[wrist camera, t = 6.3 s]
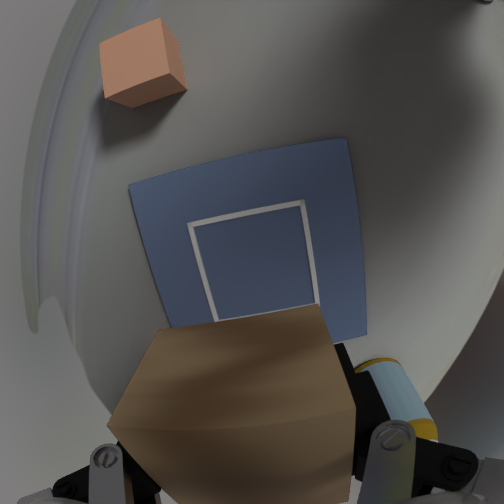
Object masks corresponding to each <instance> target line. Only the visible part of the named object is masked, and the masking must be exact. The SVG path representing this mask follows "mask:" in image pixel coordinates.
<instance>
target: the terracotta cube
mask: <svg viewBox="0 0 504 504" xmlns="http://www.w3.org/2000/svg"><path fill="white" fill-rule="evenodd" d="M99 47H100V60H101V70H102V79H103V88H104V95H105V99H108V100H111V101H114V102H116V103H119V104H122V105H125V106H127V107H130V108H132V109H133V108H135V107H138V106H141V105H143V104H146V103H149V102H152V101H155V100H158V99H161V98H163V97H167V96H170V95H173V94H176V93H179V92H182V91H186V90H187V85H186V80H185V75H184V70H183V65H182V60H181V54H180V49H179V44H178V41H177V39H176V38H175V37H174V35H173V34H172V33H171V31H170V30H169V29H168V27H167V26H166V25H165V23H164V22H163V21H162V19H161V18H158V19H155V20H153V21H150V22H147V23H145V24H142V25H140V26H137V27H135V28H132V29H130V30H128V31H125V32H123V33H121V34H118V35H116V36H114V37H112V38H110V39H108V40H106V41H104V42H102V43H100V44H99Z"/></svg>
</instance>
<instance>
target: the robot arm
mask: <svg viewBox="0 0 504 504" xmlns="http://www.w3.org/2000/svg"><path fill="white" fill-rule="evenodd" d="M483 1H492V0H483ZM334 347H335V350H336V353H337V355H338V358H339V361H340V364H341V366H342V369H343V372H344V375H345V378H346V380H347V383H348V386H349V389H350V392H351V395H352V397H353V400H354V403H355V406H356V419H355V439H354V453H353V465H352V475H351V476H353V475H355V479H357V480H359V481H361V482H362V485H361V489H360V493H359V497H358V501H357V504H504V460H502V459H495V458H489V457H485V459H478V458H477V457H476V455H475V454H474V453H472V452H471V451H470V450H467V449H463V448H459V447H454V446H450V445H446V444H442V443H438V442H434V441H431V440H427V439H423V438H420V437H416V433H415V430H414V428H413V426H412V425H410V424H409V423H408V422H405V421H403V420H391V418H390V416H389V414H388V411H387V409H386V407H385V405H384V402H383V400H382V398H381V396H380V393H379V391H378V389H377V387H376V385H375V382H374V380H373V378H372V376H371V374H370V372H369V371H368V370H367V371H363V372H359V373H355V370H354V368H353V365H352V363H351V361H350V358H349V356H348V353H347V351H346V349H345V346H344V344H343V343H339V344H335V345H334ZM160 491H161V487H160V486H159V485H158V484H157V483H156V482H155V481H154V480H153V479H152V478H151V477H150V476H149V475H148V474H147V473H146V472H145V471H144V470H143V469H142V467H141V466H140V465H139V464H138V463H137V462H136V461H135V460H134V459H133V457H132V456H131V455H130V454H129V453H128V452H127V450H126V449H125V448H124V447H123V446H122V444H121V443H120V442H119V441H118V442H117V444H116V445H115V444H104V445H101V446H99V447H97V448H96V449H95V450H94V451H93V452H92V454H91V457H90V465H88V466H86V467H84V468H82V469H80V470H78V471H76V472H74V473H71V474H69V475H67V476H65V477H63V478H61V479H59V480H58V481H57V482H56V483H55V484H54V486H53V489H51V488H47V489H45V490H42V491H39V492H37V493H34V494H31V495H28V496H25V497H23V498H21V499H19V501H18V502H17V504H161V499H160V495H159V492H160Z"/></svg>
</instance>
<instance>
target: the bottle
mask: <svg viewBox="0 0 504 504" xmlns="http://www.w3.org/2000/svg"><path fill="white" fill-rule="evenodd" d="M367 370H368V371H369V372H370V374H371V376H372V378H373V380H374V382H375V385H376V387H377V389H378V391H379V393H380V396H381V398H382V400H383V402H384V405H385V407H386V409H387V411H388V414H389V416H390V418H391V420H403V421H405V422H408V423H409V424H410V425H412V426H413V428H414V430H415V433H416V437H420V438H423V439H427V440H431V441H434V442H438V439H437V427H436V426H435V424H434V421H433V420H432V418H431V416H430V414H429V413H428V411H427V409H426V407H425V405H424V403H423V402H422V400H421V398H420V396H419V395H418V393H417V391H416V389H415V388H414V386H413V384H412V383H411V381H410V379H409V377H408V376H407V374H406V372H405V371H404V369H403V367H402V366H401V365H400V363H399V362H397V361H396V360H394V359H391V358H377V359H373V360H370V361H368V362H366V363H364V364H362V365H361V366H359V367H358V368H357V369H356V370H355V373H359V372H363V371H367Z"/></svg>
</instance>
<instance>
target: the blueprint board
mask: <svg viewBox="0 0 504 504" xmlns="http://www.w3.org/2000/svg"><path fill="white" fill-rule="evenodd" d="M128 186H129V190H130V194H131V198H132V202H133V206H134V210H135V214H136V218H137V222H138V225H139V229H140V232H141V236H142V240H143V243H144V246H145V250H146V253H147V256H148V260H149V263H150V266H151V269H152V272H153V276H154V279H155V282H156V285H157V288H158V291H159V294H160V297H161V299H162V302H163V305H164V308H165V311H166V313H167V316H168V319H169V322H170V324H171V327H172V328H175V327H183V326H190V325H197V324H204V323H211V322H218V321H224V320H231V319H237V318H243V317H249V316H255V315H260V314H266V313H272V312H277V311H282V310H288V309H293V308H298V307H303V306H308V305H313V304H317V303H318V305H319V308H320V311H321V313H322V316H323V318H324V321H325V324H326V326H327V329H328V331H329V334H330V337H331V339H332V342H333V343H334V342H338V341H342V340H347V339H351V338H355V337H359V336H363V335H367V317H366V291H365V274H364V260H363V249H362V238H361V229H360V220H359V212H358V204H357V197H356V190H355V184H354V177H353V171H352V165H351V160H350V154H349V149H348V144H347V139H346V137H345V138H337V139H330V140H322V141H316V142H309V143H302V144H296V145H290V146H284V147H279V148H273V149H268V150H263V151H258V152H253V153H248V154H243V155H238V156H234V157H229V158H225V159H221V160H216V161H212V162H208V163H204V164H200V165H196V166H192V167H188V168H184V169H181V170H177V171H173V172H170V173H166V174H163V175H159V176H156V177H152V178H149V179H146V180H142V181H139V182H136V183H133V184H130V185H128Z"/></svg>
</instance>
